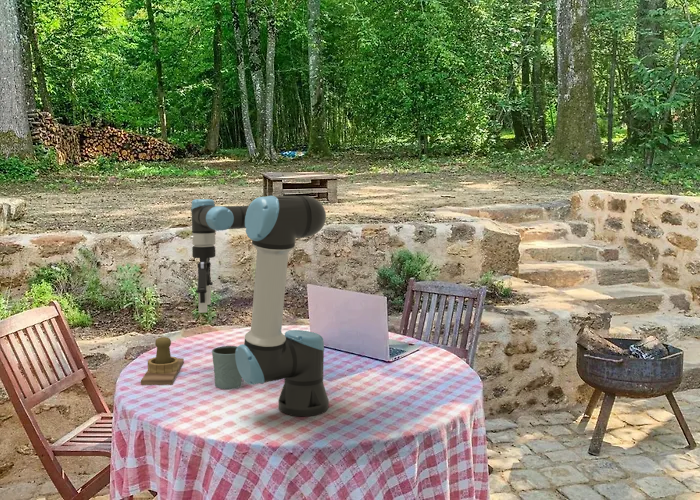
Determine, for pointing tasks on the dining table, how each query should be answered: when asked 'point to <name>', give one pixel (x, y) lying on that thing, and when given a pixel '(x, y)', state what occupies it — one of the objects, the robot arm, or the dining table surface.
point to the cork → (163, 350)
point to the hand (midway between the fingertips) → (205, 308)
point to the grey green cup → (226, 368)
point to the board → (162, 372)
